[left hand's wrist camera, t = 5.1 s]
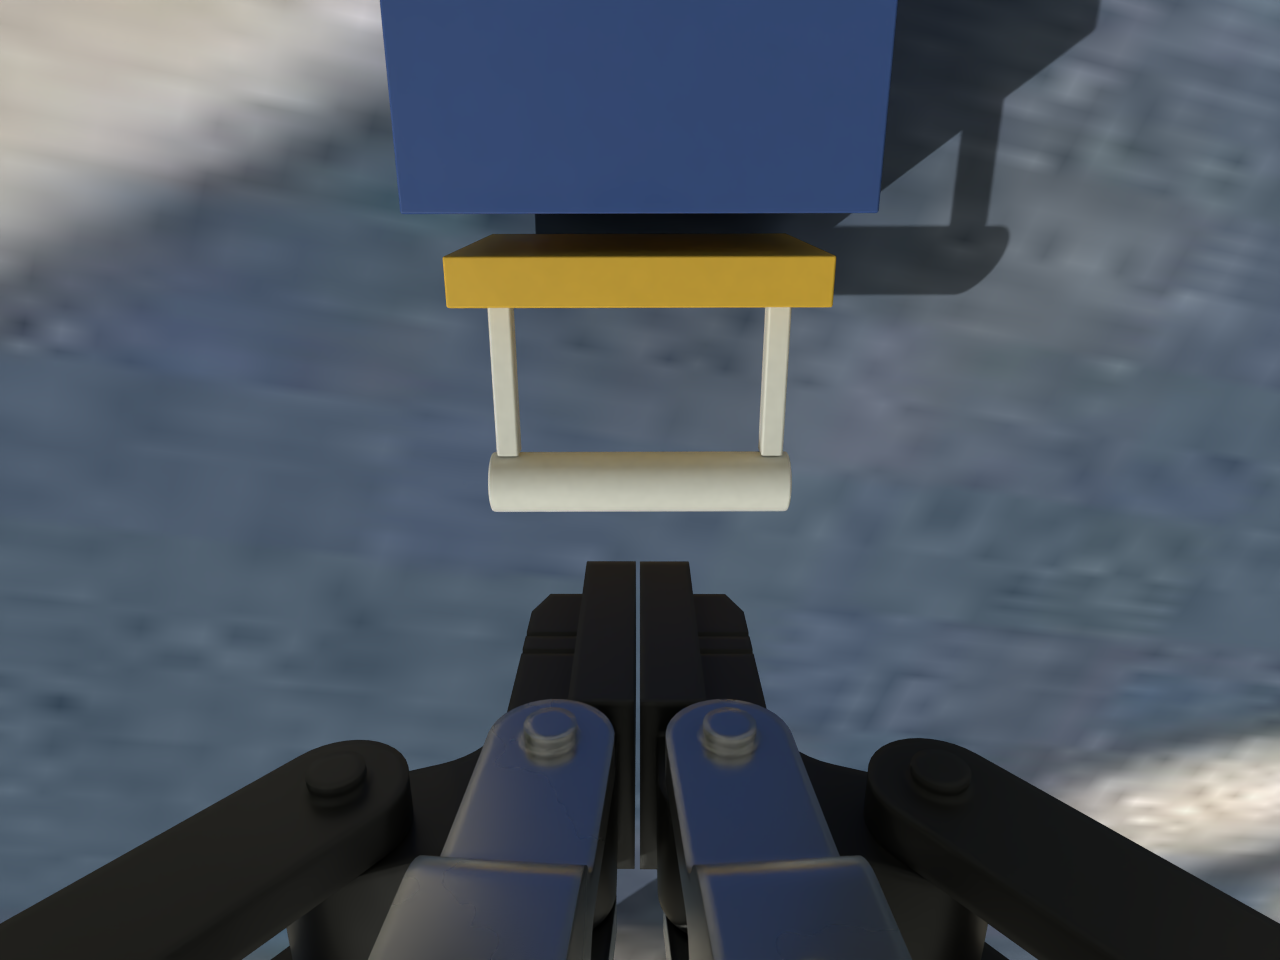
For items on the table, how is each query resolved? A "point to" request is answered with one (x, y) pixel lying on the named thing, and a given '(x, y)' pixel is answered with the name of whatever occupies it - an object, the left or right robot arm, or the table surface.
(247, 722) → the table surface
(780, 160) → the cabinet
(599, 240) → the drawer
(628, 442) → the table surface
